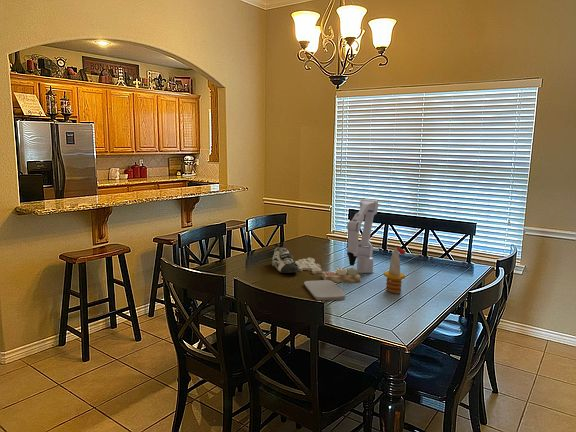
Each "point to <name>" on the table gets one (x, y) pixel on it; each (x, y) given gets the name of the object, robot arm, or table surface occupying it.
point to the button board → (341, 277)
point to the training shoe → (283, 261)
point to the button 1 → (351, 271)
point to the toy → (394, 272)
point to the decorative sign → (308, 265)
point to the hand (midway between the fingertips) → (351, 265)
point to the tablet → (324, 290)
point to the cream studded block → (341, 271)
